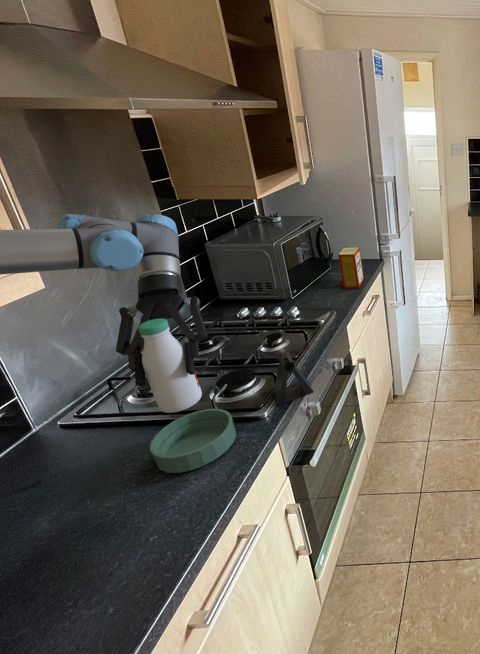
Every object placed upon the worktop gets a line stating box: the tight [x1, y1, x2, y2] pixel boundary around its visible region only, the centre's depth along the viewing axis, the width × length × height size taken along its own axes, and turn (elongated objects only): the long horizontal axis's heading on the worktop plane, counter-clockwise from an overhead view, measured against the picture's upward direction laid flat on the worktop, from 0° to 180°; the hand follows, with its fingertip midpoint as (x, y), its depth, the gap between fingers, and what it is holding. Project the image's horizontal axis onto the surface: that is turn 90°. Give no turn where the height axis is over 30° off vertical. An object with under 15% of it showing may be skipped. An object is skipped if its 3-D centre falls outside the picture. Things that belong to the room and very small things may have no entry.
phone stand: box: [273, 351, 314, 406], centre depth 113 cm, size 9×6×12 cm, turn 127°
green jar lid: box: [149, 408, 237, 474], centre depth 96 cm, size 15×15×5 cm
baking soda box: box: [337, 246, 365, 290], centre depth 182 cm, size 10×6×16 cm
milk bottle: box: [137, 319, 203, 414], centre depth 88 cm, size 8×8×20 cm
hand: (166, 378), depth 86 cm, fingers closed on milk bottle, 8 cm apart
